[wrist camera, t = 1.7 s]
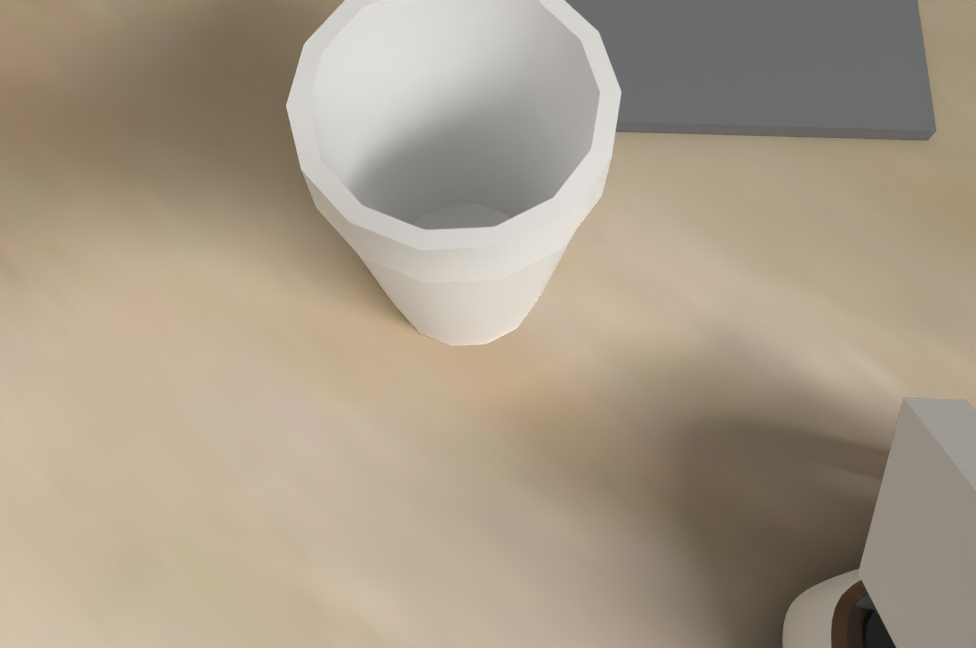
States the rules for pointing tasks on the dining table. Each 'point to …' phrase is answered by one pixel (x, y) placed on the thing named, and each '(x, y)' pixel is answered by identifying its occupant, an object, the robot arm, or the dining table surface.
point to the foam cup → (456, 149)
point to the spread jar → (835, 617)
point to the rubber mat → (767, 66)
